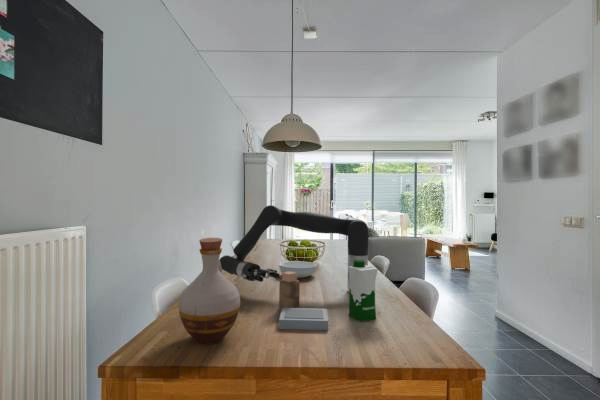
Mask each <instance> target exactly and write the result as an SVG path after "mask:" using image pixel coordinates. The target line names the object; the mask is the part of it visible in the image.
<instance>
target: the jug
mask: <svg viewBox="0 0 600 400" xmlns="http://www.w3.org/2000/svg"><path fill="white" fill-rule="evenodd" d="M222 242H223V239H222V238H220V237H205V238H200V239H199V245H200V248H199V253H200V255H201V259H202V260H201V261H202V271H201V272H200V273H199V274H198V275H197V276H196V277H195V278H194V280H192V281H191V282H190V283H189V284H188V285H187V286H186V287H185V288H184V289H183V291H182V292H181V294H180V297H179V300H178V312H179V317H180V320H181V323H182V325H183V328H184V329H185V331H186V332H187V333H188V334H189V336H190V337H191V338H192V339H193V341H195V342H196V343H198V344H200V345H213V344H214V345H215V344H217V343H220V342H221V341H222V340H224V338H225V337H226V336H227V334H228V333H229V332H230V330H231V329H232V327H233V326H234V325H235V323H236V320H237V318H238V315H239V312H240V306H241V295H240V292H239V290H238V288H237V287H236V286H235V285H234V284H233V283H232V282H231V281H230V280H229V279H228V278H227V277H226V276H225V275H223V272H222V271H223V270H222V268H221V263H220V258H221V257H220V255H221V253H222V252H223V251H222V250H223V248H222V247H221V246H222V244H223V243H222Z"/></svg>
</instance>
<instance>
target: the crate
mask: <svg viewBox="0 0 600 400" xmlns="http://www.w3.org/2000/svg"><path fill="white" fill-rule="evenodd" d="M300 287H301V286H300V280H298V279H297V281H293V282H286V281H283V280H282V279H281V280H280V279H279V286H278V288H279V289H278V290H279V291H278V292H279V293H278V294H279V297H278V304H279V306H278V309H279V310H280V311H282V308H300V293H301V292H300Z"/></svg>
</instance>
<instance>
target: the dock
mask: <svg viewBox="0 0 600 400" xmlns="http://www.w3.org/2000/svg"><path fill="white" fill-rule="evenodd" d="M278 329H279V330H303V331H304V330H305V331H307V330H309V331H329V316H328V310H327V308H313V307H312V308H310V307H308V308H306V307H299V308H282V310H280V314H279V318H278Z"/></svg>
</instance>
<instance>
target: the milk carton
mask: <svg viewBox="0 0 600 400" xmlns="http://www.w3.org/2000/svg"><path fill="white" fill-rule="evenodd" d="M348 270H349V277H350V292H349V295H348V296H349V302H348V303H349V305H348V317H349V316H350V317H352V318H353V319H355V320H357V321H359V322H366V321H370V320H375V319H377V312H376V278H377V274H378V268H376V267H374V266H370V265H368V266H367V265H365V261H364V260H354V265H353V266H348V265H347V271H348Z"/></svg>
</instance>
